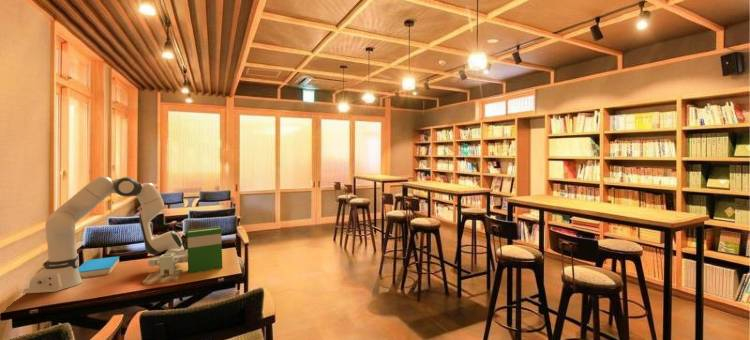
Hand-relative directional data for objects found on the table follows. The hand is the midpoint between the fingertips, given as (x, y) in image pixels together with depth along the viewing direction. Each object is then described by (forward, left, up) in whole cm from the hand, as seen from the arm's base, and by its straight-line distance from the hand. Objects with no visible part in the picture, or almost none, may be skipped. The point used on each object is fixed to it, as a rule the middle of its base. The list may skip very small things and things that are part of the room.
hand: (167, 263), depth 187 cm
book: (-43, +32, -9) cm, 54 cm away
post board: (-2, +1, -8) cm, 8 cm away
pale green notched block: (0, +1, -5) cm, 6 cm away
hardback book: (+18, +9, -8) cm, 22 cm away
